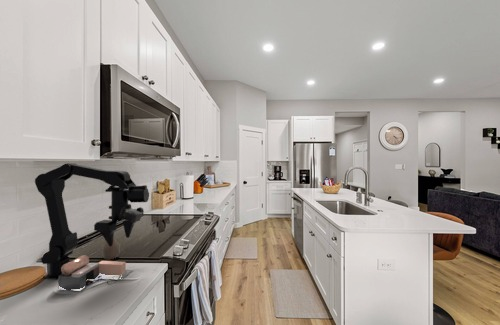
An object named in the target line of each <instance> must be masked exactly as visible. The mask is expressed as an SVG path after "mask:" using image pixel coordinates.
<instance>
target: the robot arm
mask: <svg viewBox="0 0 500 325" xmlns="http://www.w3.org/2000/svg"><path fill="white" fill-rule="evenodd" d="M73 176H78V177H84V178H89V179H94V180H99V181H101V182H104V183H105V184H107V185H109V187H107V188H106V189H105V190H104V191H105V192H106V193H109V192H110V194H111V195H110V196H111V198H110V199H111V205H108V209H109V210H111V213H110V214H111V215H110V216H108V219H103V220H100V221H96V223H94V224H93V226H94V228H93V230H94V231H96V232H97V233H98V232H99V233H100V234H101V235H102V237H103V238H104V240H105V243H108V245H109V246H113V238H114V235H115V234H114V233H115V232H116V231H117V230H118V229H117V226H118V224H120V223H122V224H123V229H124V233H125V237H126V238H127V239H128V238H130V237H131V234H132V231H133V228H134V225H135V224H136V223H137V222H140V221H141V218H142V217H144V216H145V214H144V208H143V207H142V206H140V207H137V208H132V205H131V203H147V202H149V200H150V198H149V197H150V192H149V189H148V185H147V184H145V185H144V184H143V185H137V184H136V183H135V182H134V181H133V180H132V178H131V175H130V173H129V172H128V171H126V170H105V169H101V168H96V167H91V166H86V165H81V164H77V163H72V162H71V163H70V162H69V163H64V164H62V165H60V166H59V167H57V168H53V169H52V170H50V171H47V172H45V173H40V174H38V175H37V177H36V178H35V179H34V184H35V187H36V188H37V191H38V192H39V193H40V194H41V195H42V196H43V197H44V200H45V203H46V204H45V205H46V209H47V214H48V220H49V224H50V229H51V237H50V240H49V242H48V251H47V252H46V253H45V254H44V255H43V256H42V257H41V258H40V260H41V263H42V265H46V274H45V275H43V276H42V279H48V280H49V279H51V280H53V279H54V280H58V276H60V275H61V274H62V272H61V267H62V266H63V265H64V264H66V263H68V262H70V255H72V254H73V253H74V251H75V249H76V248H77V247H78V245H79V244H78V243H79V242H80V240H79V239H78V233H77V231H75V232H72V231H71V230H70V228H69V223H68V218H67V213H66V208H65V204H64V199H63V192H64V191H65V186H66V181H67V180H69V179H71V178H72V177H73ZM129 202H130V203H129Z"/></svg>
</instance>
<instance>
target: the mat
mask: <svg viewBox="0 0 500 325" xmlns="http://www.w3.org/2000/svg"><path fill="white" fill-rule="evenodd" d="M133 272H134V270H132V269H126V273H125V274H124V275H122V277H121V279H122V278H123V279H125V278H126V277H128V276H129V275H130V274H131V273H133ZM124 277H125V278H124ZM121 279H118V280H117V281H116V282H120V281H122V280H123V279H122V280H121Z"/></svg>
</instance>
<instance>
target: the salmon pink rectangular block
mask: <svg viewBox="0 0 500 325" xmlns="http://www.w3.org/2000/svg"><path fill="white" fill-rule="evenodd" d="M98 263H99V273H101V274H105V275H120V274H122V275H124V274H125V273H126V270H127V267H126V266H127V262H126V261H115V260H101V261H99V262H98Z"/></svg>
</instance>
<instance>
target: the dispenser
mask: <svg viewBox="0 0 500 325" xmlns="http://www.w3.org/2000/svg"><path fill="white" fill-rule="evenodd" d="M69 261H70V260H69ZM61 272H62V274H61V275H60V276H58V279H57V280H58V283H57V284H58V287H59V286H60V287H62V288H64V289H66V290H71V289H80V288H83V287H84V286H86V287H87V282H86V280H87V279H95V278H96V277H97V276H98V275H99V262H90V258H89V256H88V255H85V254H84V255H83V254H82V255H81V256H80V255H79V257H76V258H75V259H72V260H71V261H70V262H68V263H66V264H64V265H63V266H62V267H61Z"/></svg>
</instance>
